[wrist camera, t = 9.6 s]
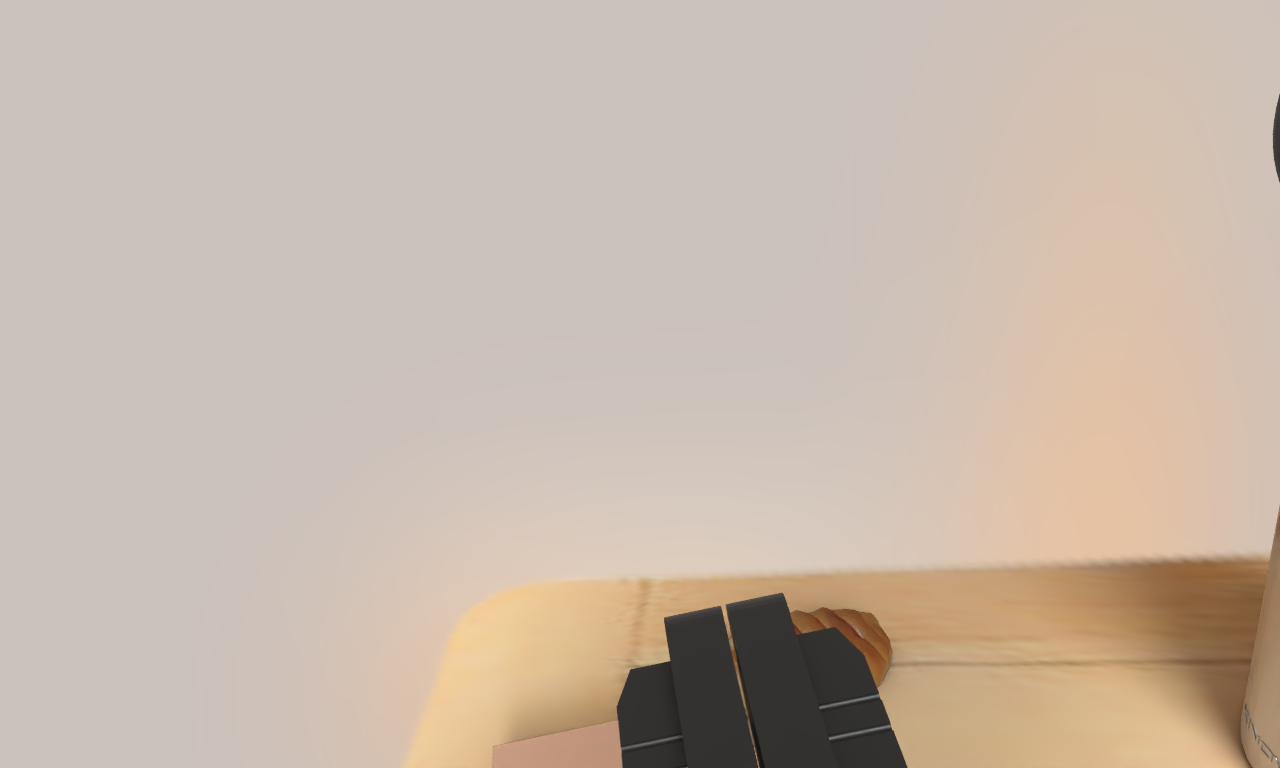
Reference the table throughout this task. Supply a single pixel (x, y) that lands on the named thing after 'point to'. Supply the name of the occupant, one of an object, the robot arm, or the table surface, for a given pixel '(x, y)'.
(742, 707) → the robot arm
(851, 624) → the pastry
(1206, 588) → the table surface
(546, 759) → the tile
